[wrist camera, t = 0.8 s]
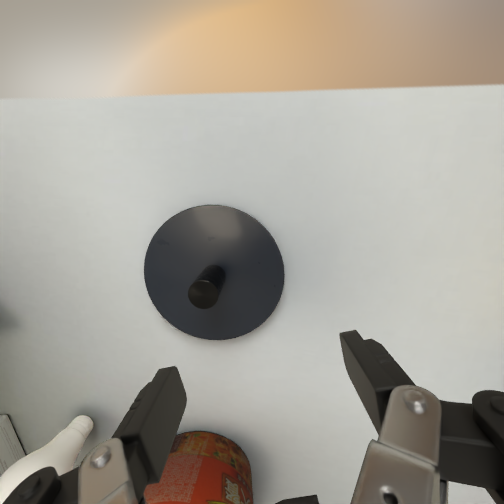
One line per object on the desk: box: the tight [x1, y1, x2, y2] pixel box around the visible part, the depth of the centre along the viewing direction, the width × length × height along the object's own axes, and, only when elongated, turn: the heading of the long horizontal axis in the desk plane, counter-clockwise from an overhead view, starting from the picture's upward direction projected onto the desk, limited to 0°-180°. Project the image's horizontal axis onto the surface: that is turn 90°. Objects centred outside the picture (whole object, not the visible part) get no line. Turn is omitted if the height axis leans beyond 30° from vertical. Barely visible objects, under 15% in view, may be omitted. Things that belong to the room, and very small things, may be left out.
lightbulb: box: [0, 415, 93, 504], centre depth 26 cm, size 6×6×11 cm
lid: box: [144, 205, 284, 340], centre depth 24 cm, size 15×15×6 cm
